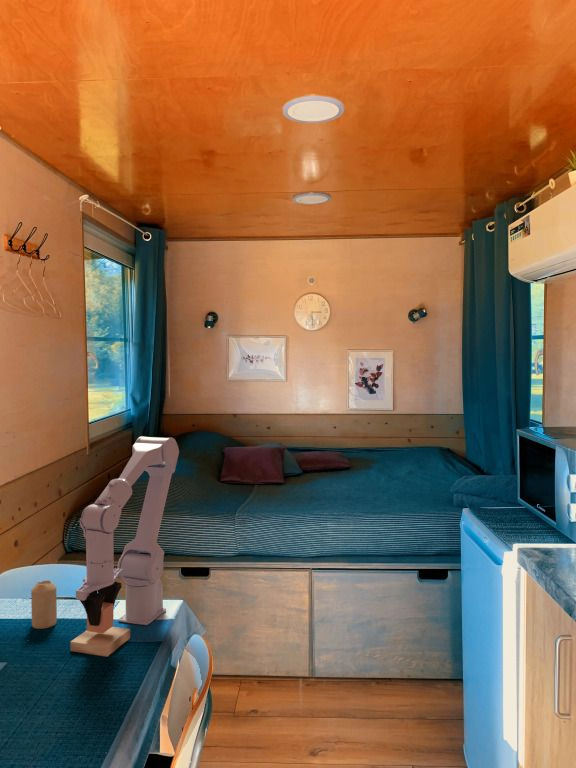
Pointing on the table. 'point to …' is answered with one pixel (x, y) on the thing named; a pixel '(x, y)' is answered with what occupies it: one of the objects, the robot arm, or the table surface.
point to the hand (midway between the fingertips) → (100, 620)
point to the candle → (44, 605)
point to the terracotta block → (103, 619)
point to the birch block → (100, 641)
